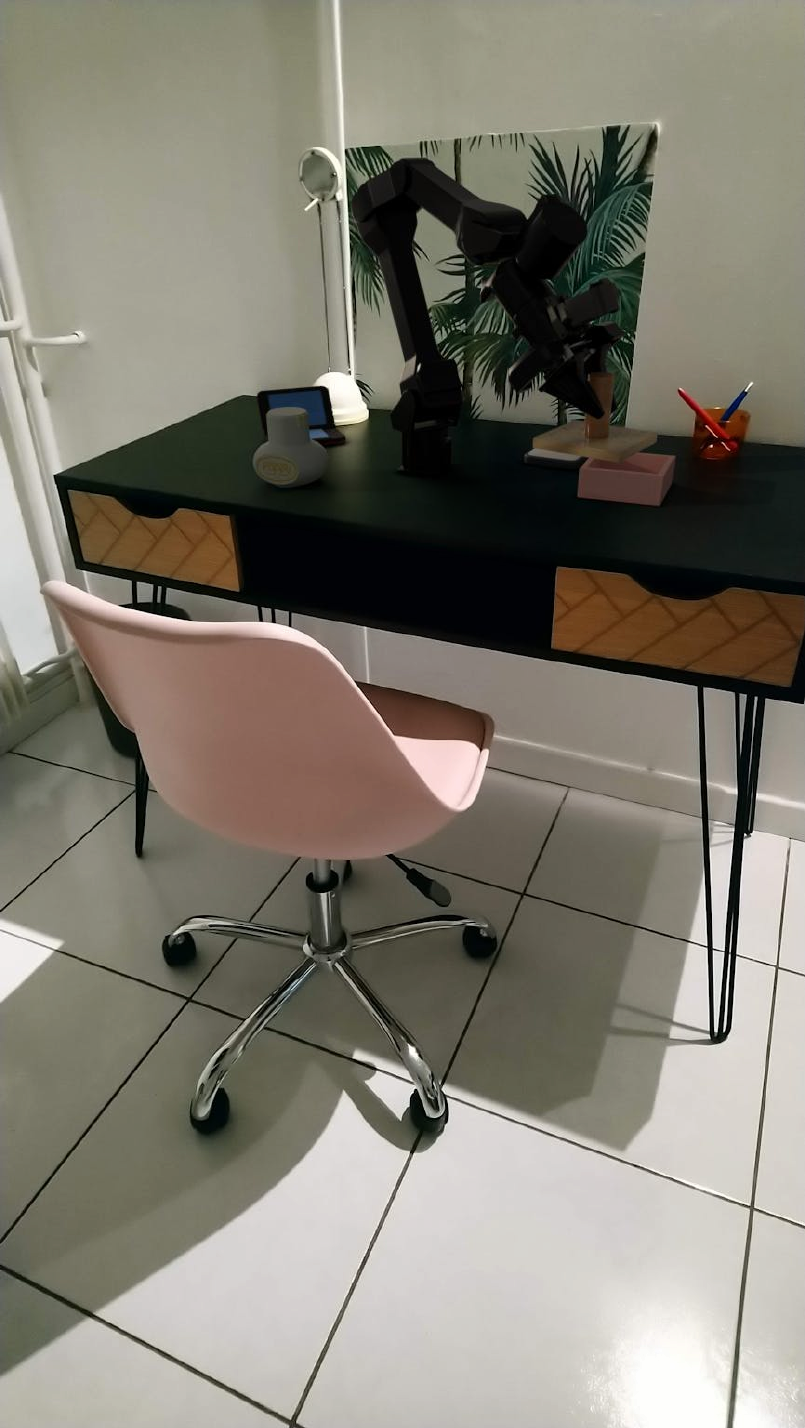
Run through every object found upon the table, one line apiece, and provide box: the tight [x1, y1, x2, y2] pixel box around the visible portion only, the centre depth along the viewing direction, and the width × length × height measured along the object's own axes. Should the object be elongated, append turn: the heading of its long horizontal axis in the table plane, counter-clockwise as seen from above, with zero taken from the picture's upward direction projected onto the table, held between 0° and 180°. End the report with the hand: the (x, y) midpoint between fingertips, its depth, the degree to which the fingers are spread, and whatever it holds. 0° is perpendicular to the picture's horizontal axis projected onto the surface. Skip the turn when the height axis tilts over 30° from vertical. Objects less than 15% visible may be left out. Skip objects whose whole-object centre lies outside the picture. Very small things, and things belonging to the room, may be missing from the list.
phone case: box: [524, 448, 589, 471], centre depth 139 cm, size 9×2×16 cm
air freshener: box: [252, 407, 330, 489], centre depth 128 cm, size 11×8×10 cm
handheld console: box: [256, 385, 346, 446], centre depth 148 cm, size 12×11×7 cm
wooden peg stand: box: [532, 371, 659, 463], centre depth 106 cm, size 11×10×8 cm
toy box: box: [577, 452, 677, 507], centre depth 122 cm, size 11×10×4 cm
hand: (608, 414), depth 106 cm, fingers closed on wooden peg stand, 3 cm apart
